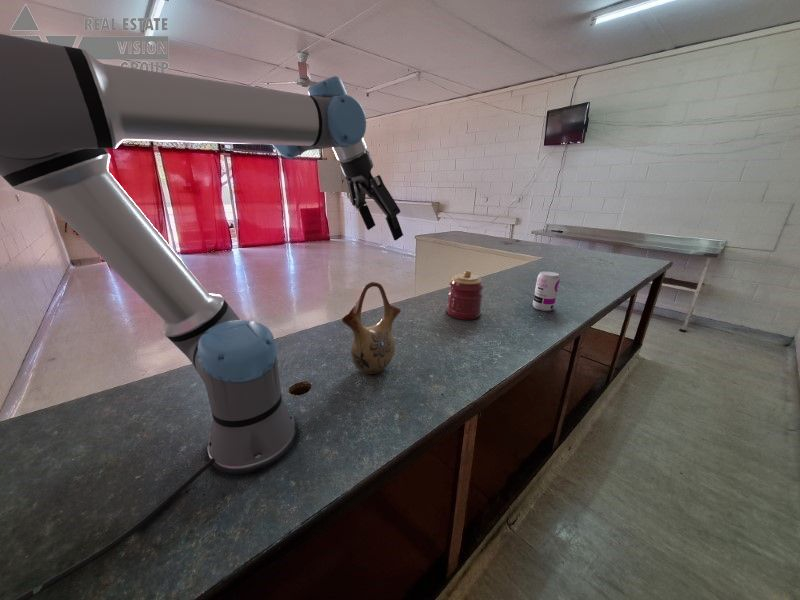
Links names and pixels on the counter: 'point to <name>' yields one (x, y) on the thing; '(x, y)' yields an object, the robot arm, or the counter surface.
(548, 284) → the supplement can
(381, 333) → the ceramic vessel
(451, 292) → the kitchen canister
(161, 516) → the counter surface
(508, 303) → the counter surface
